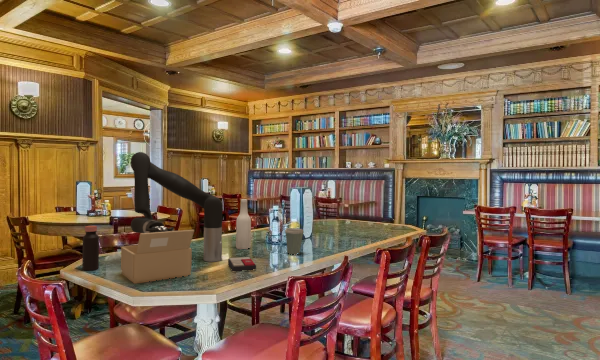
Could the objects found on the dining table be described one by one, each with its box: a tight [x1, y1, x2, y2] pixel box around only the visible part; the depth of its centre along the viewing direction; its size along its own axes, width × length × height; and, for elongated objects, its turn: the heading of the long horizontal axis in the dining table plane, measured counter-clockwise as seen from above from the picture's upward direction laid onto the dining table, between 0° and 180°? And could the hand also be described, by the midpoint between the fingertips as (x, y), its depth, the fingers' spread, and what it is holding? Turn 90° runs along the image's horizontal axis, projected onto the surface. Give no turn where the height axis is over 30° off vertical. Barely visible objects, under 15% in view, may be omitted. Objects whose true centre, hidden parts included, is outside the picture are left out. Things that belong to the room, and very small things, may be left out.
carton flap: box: [137, 229, 195, 253], centre depth 170 cm, size 22×10×1 cm
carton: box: [120, 244, 193, 285], centre depth 180 cm, size 25×20×12 cm
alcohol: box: [235, 198, 252, 250], centre depth 246 cm, size 9×9×30 cm
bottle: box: [81, 225, 100, 272], centre depth 188 cm, size 7×7×20 cm
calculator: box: [227, 256, 257, 272], centre depth 196 cm, size 11×4×15 cm
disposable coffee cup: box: [284, 227, 304, 255], centre depth 231 cm, size 11×11×15 cm
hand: (166, 233), depth 170 cm, fingers closed
